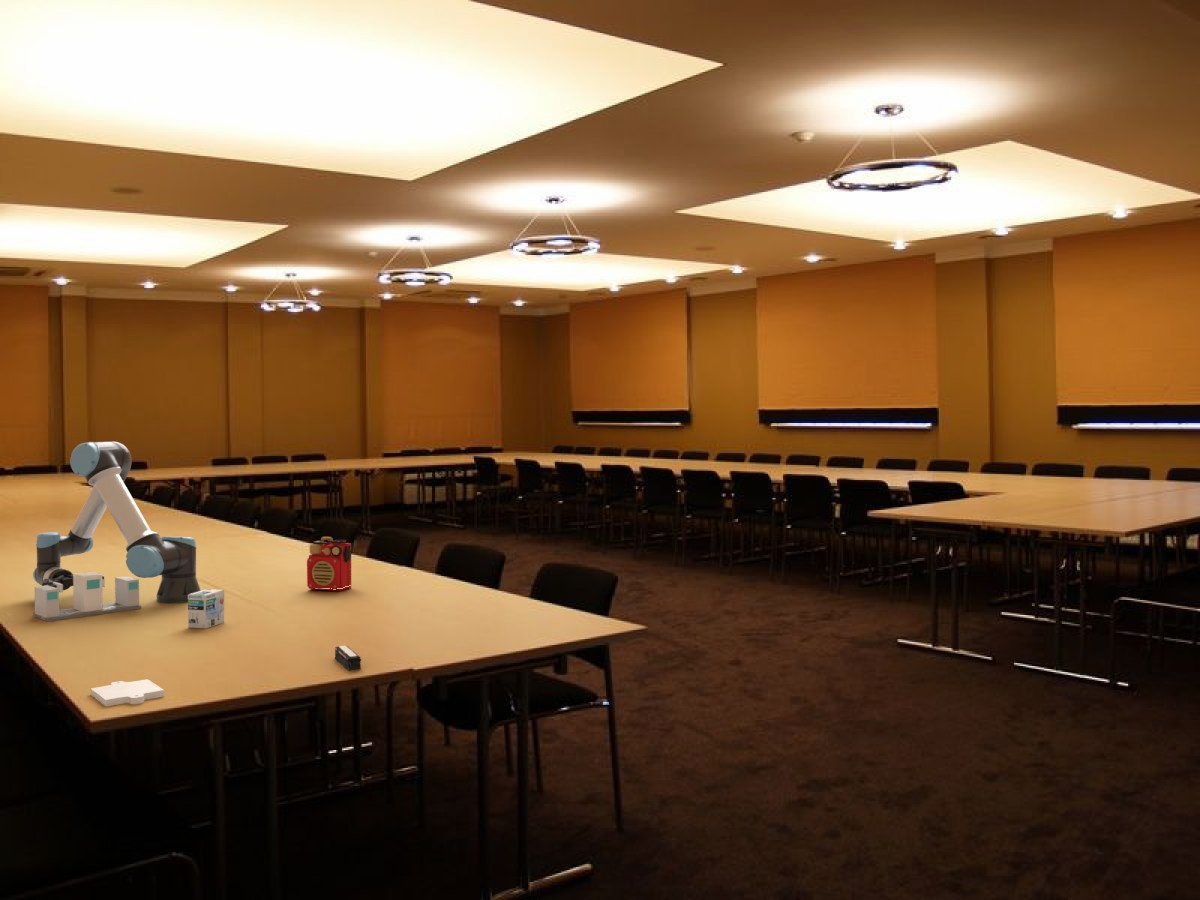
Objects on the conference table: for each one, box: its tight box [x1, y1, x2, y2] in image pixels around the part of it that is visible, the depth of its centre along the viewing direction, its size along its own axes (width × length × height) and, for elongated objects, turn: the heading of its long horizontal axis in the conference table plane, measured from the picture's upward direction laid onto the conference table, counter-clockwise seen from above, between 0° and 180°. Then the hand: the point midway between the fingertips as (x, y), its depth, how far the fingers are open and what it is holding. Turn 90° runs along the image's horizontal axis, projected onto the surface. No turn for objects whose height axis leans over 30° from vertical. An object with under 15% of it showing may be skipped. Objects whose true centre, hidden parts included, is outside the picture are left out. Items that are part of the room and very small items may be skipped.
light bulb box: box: [187, 588, 225, 629], centre depth 320 cm, size 11×7×11 cm, turn 168°
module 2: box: [114, 575, 140, 607], centre depth 349 cm, size 4×10×9 cm, turn 48°
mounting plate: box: [90, 678, 165, 707], centre depth 239 cm, size 18×13×2 cm
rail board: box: [32, 601, 142, 622], centre depth 339 cm, size 30×13×1 cm, turn 138°
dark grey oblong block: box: [334, 645, 362, 672], centre depth 273 cm, size 14×25×4 cm, turn 28°
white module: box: [72, 571, 104, 612], centre depth 339 cm, size 6×9×12 cm, turn 48°
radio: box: [306, 536, 352, 592], centre depth 386 cm, size 16×10×20 cm, turn 76°
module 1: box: [34, 585, 60, 618], centre depth 330 cm, size 4×10×9 cm, turn 48°
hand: (82, 585), depth 341 cm, fingers open, 13 cm apart
